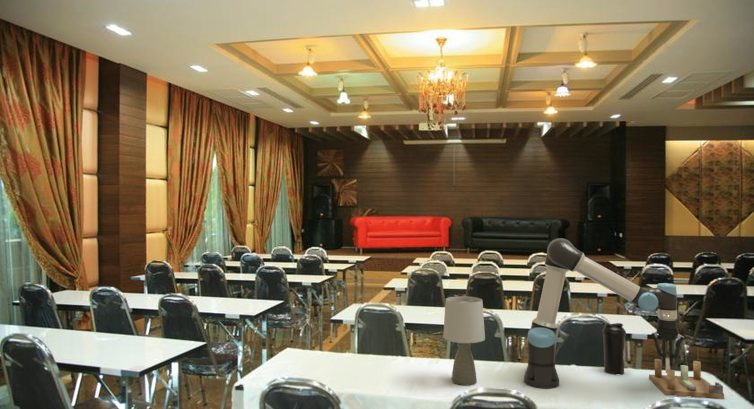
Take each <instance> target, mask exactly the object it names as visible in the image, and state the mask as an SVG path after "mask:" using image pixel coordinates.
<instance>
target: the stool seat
mask: <svg viewBox="0 0 754 409" xmlns="http://www.w3.org/2000/svg"><path fill="white" fill-rule="evenodd" d="M692 362H693V363H692V364H693V369H692V370H693V371H692V372H693V373H692V374H693V376H689V375H688V381H690V382H691V383H692V384H693V385H695V386H696V391H692V390H688V389H687V387H685V386H684V385H683V384H682V383H681V375H675V372H676V371H675V369H670V370H667V373H666V375H665V374H663V370H662V369H663V359H660V358H655V359H654V374H648V380H650V381H651V382H652V384H654V385H655V386H656V387H657V388H658V389H659V390H660V391H661V392H662V394H664V395H665V396H667V395H677V396H676V397H686V396H691V397H690V398H701V397H705V398H706V399H719V400H724V399H725V394H724V386H723V384H721V383H720V382H717V381H716V382H714V384H711V383H710V382H709V381H708V380H706V379H705V378H703V377H702V373H701V372H702V371H701V370H702V368H701V367H702V366H701V365H702V364H701V363H702V362H701V361H700V360H699V361H698V360H693V361H692ZM705 398H704V399H705Z"/></svg>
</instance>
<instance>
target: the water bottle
mask: <svg viewBox="0 0 754 409" xmlns="http://www.w3.org/2000/svg"><path fill="white" fill-rule="evenodd" d="M623 326H624V324H623V323H620V322H616V323H609V322H605V323H604V327H603V328H602V329H601V330H602V336H603V360H604V364H603V366H604V372H605V373H606V374H610V375H615V376H617V375H616V374H621V375H624V374H625V355H626V336H627V332H626V331H627V330H625V328H624V327H623ZM623 373H624V374H623Z"/></svg>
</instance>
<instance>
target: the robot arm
mask: <svg viewBox="0 0 754 409" xmlns="http://www.w3.org/2000/svg"><path fill="white" fill-rule="evenodd" d="M546 251H547V252H546V256H545V260H544V266H545V267H546V272H545V276H544V281H543V286H542V291H541V295H540V300H539V305H538V310H537V314H536V317H535V318H533V319H532V321H531V326H530V329H529V330H528V332H527V336H526V337H527V366H526V369H525V373H524V374H523V383H524V384H526V385H527V386H529V387H534V388H539V389H554V388H557V387H559V386H560V377H559V375H558V371H557V368H556V338H557V331H558V327H559V326H558V324H557V323H556V321H557V317H558V312H559V308H560V301H561V297H562V292H563V288H564V285H565V279H566V275H567V273H568V272H569V271H570V272H572V273H574V272H577V273H578V274H581V275H582V276H583V277H586V278H587V279H589V280H591V281H593V282H595V283H596V284H598V285H600V286H602V287H604V288H606V289H608V290H609V291H610V292H612V293H615V294H616V295H619V297H621V298H623V299H625V300H627V301H628V304H631V305H636V306H637V307H639V308H640V309H641V310H643V311H646V312H651V311H652V312H653V311H655V310H656V309H657V317H658V318H657V329H656V331H655V332H652V333H651V338H653V341H654V345H655V348H656V352H657V355H658V356H659V357H662V366H665V374H667V370H671V367H673V365H674V359H677V358H678V355H679V351H680V348H681V345H682V342H683V340H684V339H685V336H684V335H681V334H680V333H679V331H678V308H677V307H678V304H677V303H678V298H677V297H678V294H677V293H678V292H677V286H676V285H675V284H674V283H669V282H668V283H667V282H663V283H661V282H660V283H657V286H656V287H642V286H639V285H638V284H636V283H634V282H633V281H630V280H629V279H627V278H625V277H623V276H622V275H619V274H617V273H615V272H614V271H612V270H611V269H608V267H607V268H606V267H605V266H603V265H601V264H600V263H597V262H596V261H594V260H592V259H590V258H589V257H587V256H585V253H584V252H583V251H581V250H579V249H577V248H576V247H575V246H574V245H573V244H572V242H571V241H570V240H568V239H566V238H562V237H559V238H555V239H553V240H551V241H549V243H548V245H547V248H546ZM658 336H659V337H660V339H661V341H662V349H661V346H660V343H659V338H658ZM676 338H677V342H676V343H677V344H676V348H675V351H674V348H673V347H674V340H675V339H676ZM667 341H668V349H669V350H668V351H669V352H668V355H669V356H667Z"/></svg>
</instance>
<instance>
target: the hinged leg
mask: <svg viewBox="0 0 754 409" xmlns="http://www.w3.org/2000/svg"><path fill="white" fill-rule="evenodd" d="M680 376H681V383H682V384H683V385H684V386H685V387H687V389H688V390H692V391H696V386H695V385H693V384H692V383H691V382H690V381H688V376H689V366H688V365H685V364H682V365H681V364H680Z"/></svg>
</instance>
